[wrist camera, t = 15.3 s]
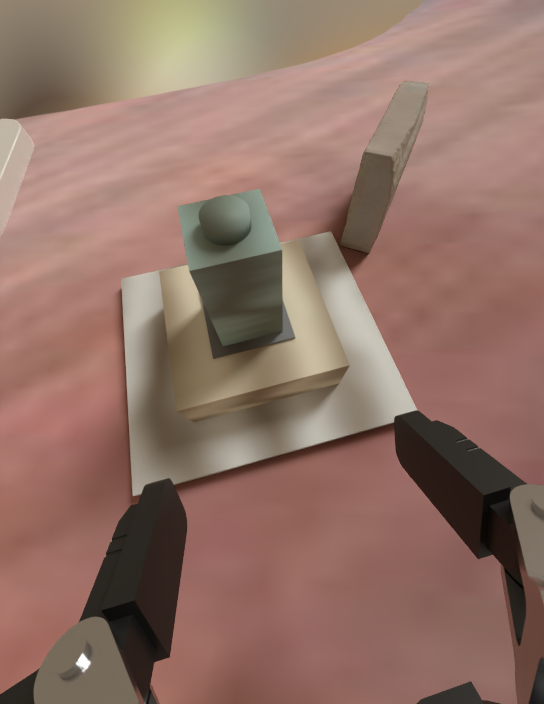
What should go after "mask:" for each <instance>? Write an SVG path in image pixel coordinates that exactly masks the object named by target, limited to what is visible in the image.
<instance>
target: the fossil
mask: <svg viewBox="0 0 544 704" xmlns="http://www.w3.org/2000/svg"><path fill="white" fill-rule="evenodd" d="M428 89H429V83H423V82H412V81H411V82H407V81H404V82H402V83H401V84H400V85H399V88H398V89H397V91H396V93H395V94H394V97H393V98H392V100H391V102H390V104H389V107H388V109H387V111H386V112H385V115H384V116H383V118H382V120H381V122H380V124H379V126H378V128H377V130H376V131H375V133H374V135H373V137H372V139H371V140H370V142H369V144H368V146H367V148H366V149H365V151H364V153H363V156H362V160H361V164H360V169H359V172H358V175H357V179H356V183H355V187H354V191H353V194H352V198H351V202H350V206H349V210H348V216H347V222H346V223H347V224H346V226H345V228H344V232H343V235H342V238H341V241H340V246H344V247H347V248H351V249H354V250H358V251H362V252H365V253H370V251H371V248H372V247H373V244H374V242H375V240H376V239H377V237H378V234H379V231H380V229H381V227H382V224H383V221H384V219H385V216H386V213H387V211H388V209H389V206H390V204H391V201H392V199H393V196H394V194H395V191H396V189H397V186H398V183H399V181H400V179H401V176H402V173H403V171H404V168H405V166H406V163H407V161H408V158H409V156H410V153H411V151H412V148H413V145H414V143H415V140H416V138H417V135H418V132H419V130H420V127H421V125H422V122H423V117H424V114H425V108H426V104H427V94H428Z"/></svg>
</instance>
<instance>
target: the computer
mask: <svg viewBox="0 0 544 704" xmlns="http://www.w3.org/2000/svg"><path fill="white" fill-rule="evenodd" d="M33 150H34V142H33V141H32V139H31V138H30V137H29V135H28V134H27V133H26V131H25V130H24V129H23V127H22V126H21V125H20V123H19V122H17V121H15V120H12V119H0V236H1V234H2V233H3V232H4V230H5V228H6V225H7V222H8V220H9V217H10V214H11V211H12V208H13V206H14V203H15V200H16V197H17V194H18V192H19V189H20V186H21V183H22V180H23V178H24V175H25V172H26V169H27V167H28V164H29V161H30V158H31V155H32V153H33Z"/></svg>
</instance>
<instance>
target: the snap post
mask: <svg viewBox="0 0 544 704" xmlns="http://www.w3.org/2000/svg"><path fill="white" fill-rule="evenodd" d="M177 207H178V212H179V218H180V223H181V229H182V234H183V240H184V245H185V251H186V256H187V262H188V267H189V272H190V274H191V276H192V279H193V281H194V283H195V285H196V287H197V290H198V292H199V294H200V296H201V299H202V301H203V303H204V305H205V308H206V310H207V312H208V314H209V316H210V319H211V321H212V323H213V325H214V328H215V330H216V332H217V334H218V337H219V339H220V341H221V343H222V345H223V346H227V345H231V344H235V343H239V342H243V341H247V340H251V339H255V338H259V337H263V336H267V335H271V334H275V333H279V332H283V296H282V248H281V245H280V242H279V239H278V237H277V234H276V231H275V229H274V226H273V223H272V220H271V218H270V215H269V212H268V210H267V207H266V204H265V202H264V199H263V196H262V193H261V191H260V189H257V190H252V191H247V192H243V193H238V194H233V195H224V196H218V197H215V198H212V199H210V200H205V201H200V202H196V203H191V204H186V205H181V206H177Z"/></svg>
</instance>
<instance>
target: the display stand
mask: <svg viewBox="0 0 544 704" xmlns="http://www.w3.org/2000/svg"><path fill="white" fill-rule="evenodd" d="M280 245H281V248H282V296H283V332H279V333H275V334H271V335H267V336H263V337H259V338H255V339H251V340H247V341H243V342H239V343H235V344H231V345H227V346H223V345H222V343H221V341H220V339H219V337H218V334H217V332H216V330H215V328H214V325H213V323H212V321H211V319H210V316H209V314H208V312H207V310H206V308H205V305H204V303H203V301H202V299H201V296H200V294H199V292H198V290H197V287H196V285H195V283H194V281H193V279H192V276H191V274H190V272H189V267H188V264H185V265H180V266H176V267H171V268H167V269H163V270H158V271H154V272H149V273H145V274H141V275H136V276H132V277H127V278H123V279H121V285H122V304H123V322H124V341H125V360H126V379H127V398H128V417H129V436H130V455H131V474H132V493H133V496H139V495H141V494H142V491H143V488H144V486H145V485H146V484H149V483H152V482H156V481H160V480H163V479H167V478H170V479H171V480H172V482H173V484H174V485H178V484H181V483H185V482H188V481H192V480H195V479H199V478H202V477H206V476H209V475H213V474H216V473H220V472H223V471H227V470H231V469H234V468H238V467H241V466H245V465H248V464H252V463H255V462H259V461H262V460H266V459H269V458H273V457H276V456H280V455H283V454H287V453H290V452H294V451H297V450H301V449H304V448H308V447H311V446H315V445H319V444H322V443H326V442H329V441H333V440H336V439H340V438H343V437H347V436H350V435H354V434H357V433H361V432H364V431H368V430H371V429H375V428H378V427H382V426H385V425H389V424H392V423H394V418H395V416H397V415H400V414H404V413H408V412H411V411H415V410H417V409H416V407H415V405H414V402H413V400H412V398H411V396H410V394H409V392H408V390H407V388H406V386H405V384H404V382H403V380H402V378H401V375H400V373H399V371H398V369H397V367H396V365H395V363H394V361H393V359H392V357H391V355H390V353H389V351H388V348H387V346H386V344H385V342H384V340H383V338H382V336H381V334H380V332H379V330H378V328H377V326H376V324H375V321H374V319H373V317H372V315H371V313H370V311H369V309H368V307H367V305H366V303H365V301H364V299H363V296H362V294H361V292H360V290H359V288H358V286H357V284H356V282H355V280H354V278H353V276H352V274H351V272H350V269H349V267H348V265H347V263H346V261H345V259H344V257H343V255H342V253H341V251H340V249H339V247H338V245H337V242H336V240H335V238H334V236H333V234H332V232H331V231H330V232H325V233H321V234H317V235H312V236H308V237H303V238H299V239H295V240H290V241H286V242H281V243H280Z"/></svg>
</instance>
